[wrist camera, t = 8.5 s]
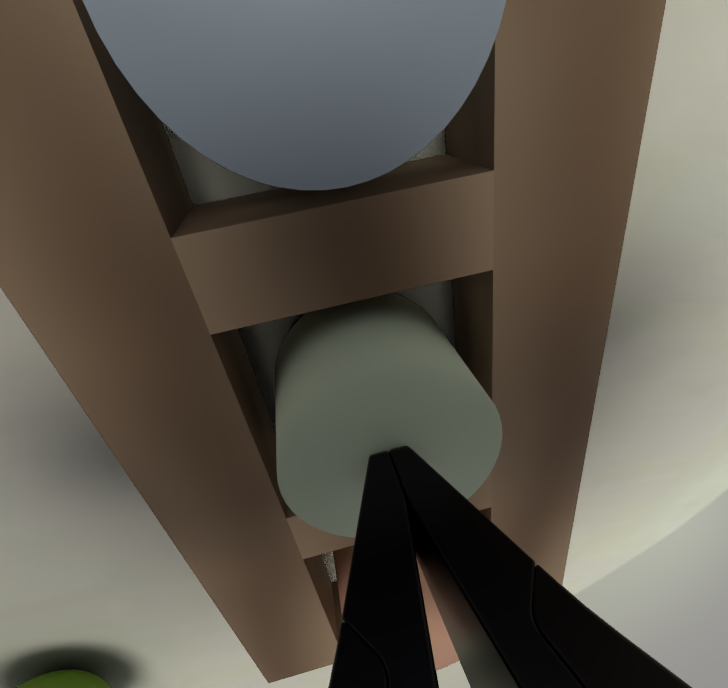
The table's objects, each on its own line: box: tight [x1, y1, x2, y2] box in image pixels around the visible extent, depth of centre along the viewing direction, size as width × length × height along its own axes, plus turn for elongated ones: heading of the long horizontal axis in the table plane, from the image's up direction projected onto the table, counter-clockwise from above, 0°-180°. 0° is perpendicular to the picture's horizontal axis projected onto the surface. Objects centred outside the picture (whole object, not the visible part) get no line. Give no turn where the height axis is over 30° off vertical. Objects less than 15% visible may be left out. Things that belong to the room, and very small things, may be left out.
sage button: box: [275, 293, 502, 538], centre depth 10 cm, size 5×5×4 cm
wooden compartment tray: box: [0, 0, 666, 683], centre depth 11 cm, size 12×24×2 cm, turn 9°
